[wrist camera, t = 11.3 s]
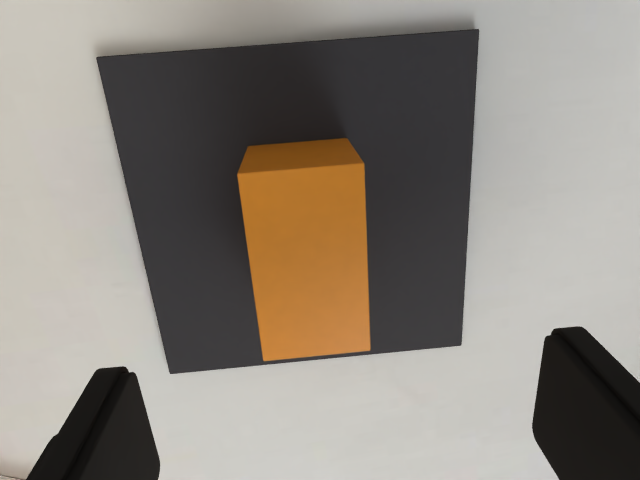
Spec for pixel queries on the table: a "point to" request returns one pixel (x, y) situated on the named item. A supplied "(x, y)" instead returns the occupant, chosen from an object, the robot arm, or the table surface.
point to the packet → (307, 247)
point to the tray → (7, 478)
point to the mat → (285, 127)
